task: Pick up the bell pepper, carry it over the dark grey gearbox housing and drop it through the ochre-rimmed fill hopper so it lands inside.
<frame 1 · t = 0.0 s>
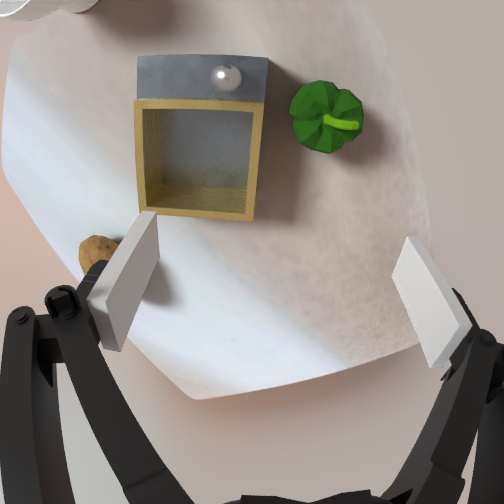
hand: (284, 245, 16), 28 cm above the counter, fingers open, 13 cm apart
bell pepper: (317, 109, 38), on the counter
gearbox: (206, 143, 41), on the counter
potato: (119, 255, 52), on the counter
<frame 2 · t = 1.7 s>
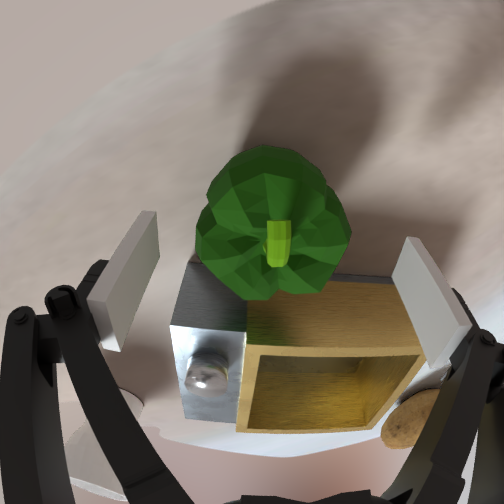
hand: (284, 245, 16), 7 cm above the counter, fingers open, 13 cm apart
bell pepper: (271, 187, 22), on the counter
cup: (118, 397, 40), on the counter
gearbox: (315, 330, 30), on the counter
potato: (417, 395, 40), on the counter
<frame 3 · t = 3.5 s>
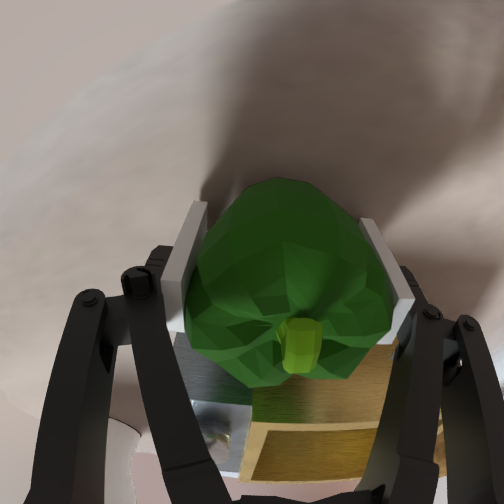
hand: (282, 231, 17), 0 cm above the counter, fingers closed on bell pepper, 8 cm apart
bell pepper: (284, 227, 18), on the counter, touching gripper
cup: (114, 427, 36), on the counter
gearbox: (329, 376, 26), on the counter
potato: (431, 428, 35), on the counter
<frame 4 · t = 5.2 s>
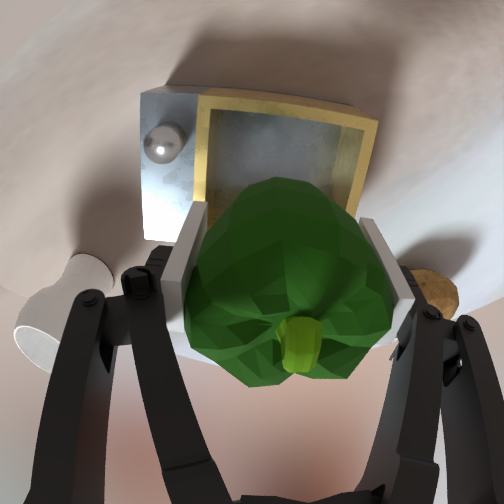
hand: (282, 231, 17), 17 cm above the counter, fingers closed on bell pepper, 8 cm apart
bell pepper: (284, 226, 18), point 17 cm above the counter, touching gripper
cup: (90, 274, 43), on the counter
gearbox: (275, 158, 33), on the counter
potato: (399, 284, 42), on the counter
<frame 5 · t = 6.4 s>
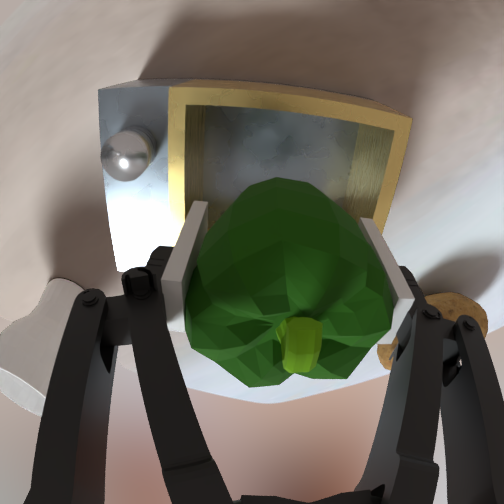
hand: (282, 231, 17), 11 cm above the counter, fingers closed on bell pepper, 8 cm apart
bell pepper: (284, 227, 18), point 10 cm above the counter, touching gripper
cup: (71, 300, 37), on the counter
gearbox: (276, 166, 26), on the counter
potato: (420, 307, 35), on the counter
when the fingers open (11 cm above the counter, at t = 6.7 s): bell pepper drops 9 cm, resting on gearbox.
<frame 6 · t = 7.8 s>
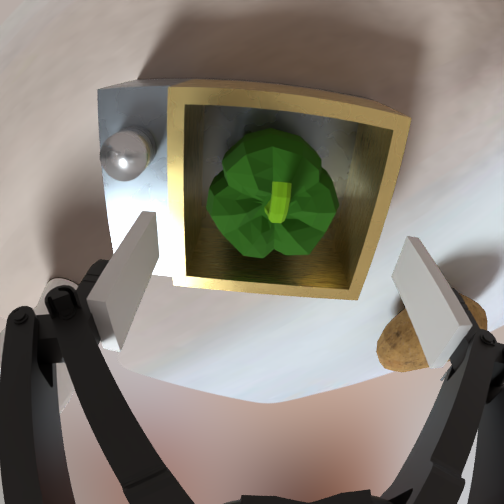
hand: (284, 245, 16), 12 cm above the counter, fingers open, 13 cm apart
bell pepper: (272, 167, 25), point 1 cm above the counter, touching gearbox
cup: (70, 300, 37), on the counter
gearbox: (276, 166, 26), on the counter
potato: (419, 307, 35), on the counter
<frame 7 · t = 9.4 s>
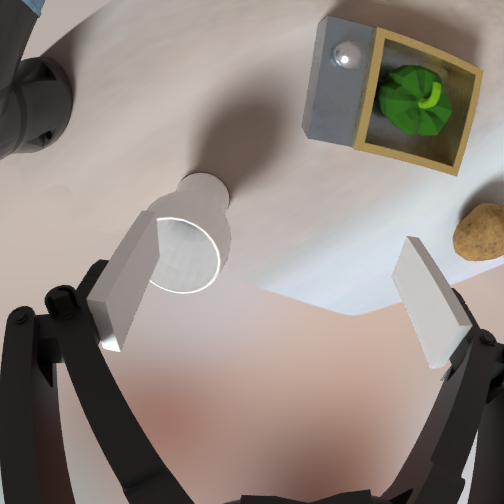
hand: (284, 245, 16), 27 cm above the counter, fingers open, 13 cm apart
bell pepper: (399, 95, 34), point 1 cm above the counter, touching gearbox
cup: (202, 197, 45), on the counter
gearbox: (398, 96, 35), on the counter
potato: (474, 219, 44), on the counter
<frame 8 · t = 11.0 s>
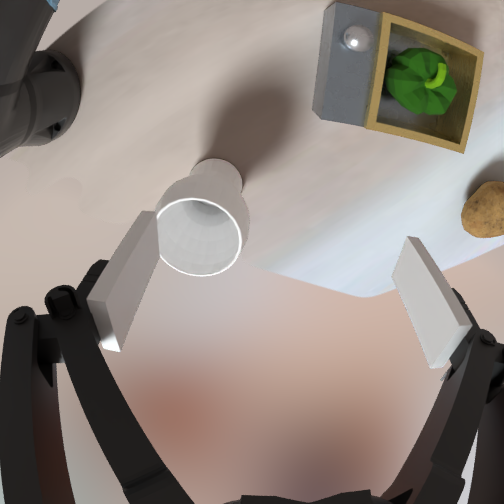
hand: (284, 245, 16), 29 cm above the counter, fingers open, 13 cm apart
bell pepper: (404, 78, 34), point 1 cm above the counter, touching gearbox
cup: (215, 183, 45), on the counter
gearbox: (403, 79, 35), on the counter
potato: (480, 198, 44), on the counter
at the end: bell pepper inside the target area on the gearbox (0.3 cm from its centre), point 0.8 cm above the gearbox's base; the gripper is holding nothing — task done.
